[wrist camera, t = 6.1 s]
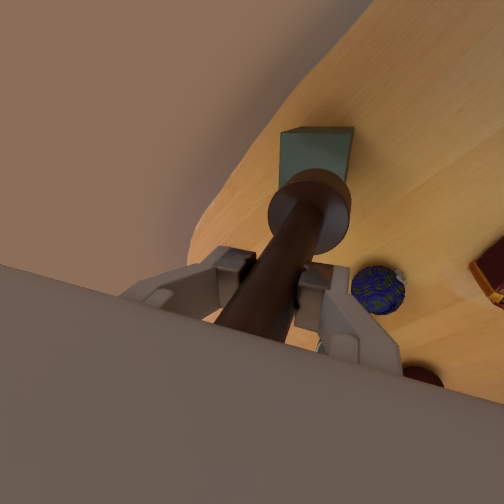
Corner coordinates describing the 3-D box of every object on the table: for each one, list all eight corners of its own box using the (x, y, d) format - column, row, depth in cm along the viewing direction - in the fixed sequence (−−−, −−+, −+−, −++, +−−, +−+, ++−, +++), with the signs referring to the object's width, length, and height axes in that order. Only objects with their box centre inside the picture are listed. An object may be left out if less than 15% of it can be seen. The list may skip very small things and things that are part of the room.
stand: (300, 126, 40) (280, 132, 31) (354, 126, 38) (351, 133, 28) (296, 178, 44) (278, 198, 34) (345, 181, 42) (340, 204, 32)
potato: (393, 358, 54) (397, 388, 49) (437, 359, 51) (447, 391, 45) (399, 383, 57) (403, 414, 51) (442, 385, 53) (452, 419, 47)
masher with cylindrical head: (281, 165, 17) (104, 295, 5) (357, 170, 15) (342, 362, 4) (279, 230, 19) (150, 421, 7) (345, 240, 17) (311, 493, 6)
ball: (383, 251, 45) (386, 274, 39) (411, 282, 46) (419, 309, 39) (345, 273, 49) (342, 297, 43) (371, 301, 50) (372, 328, 44)
